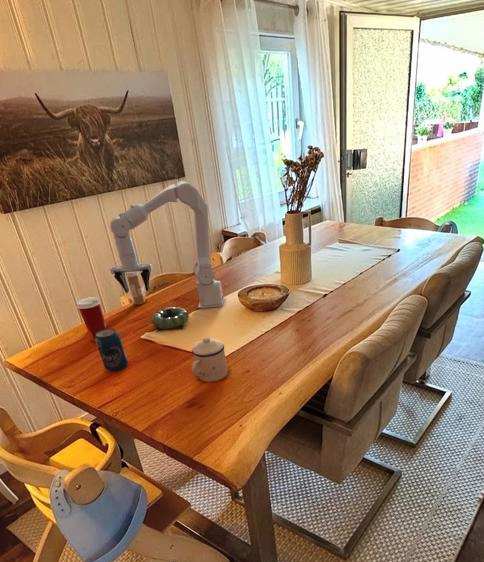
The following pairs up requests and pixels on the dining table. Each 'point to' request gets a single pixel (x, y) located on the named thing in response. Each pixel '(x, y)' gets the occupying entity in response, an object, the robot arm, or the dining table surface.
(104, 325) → the paper cup
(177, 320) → the ring
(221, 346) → the teacup with lid
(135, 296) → the sprinkles bottle
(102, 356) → the soda can
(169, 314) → the holder
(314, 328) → the dining table surface
